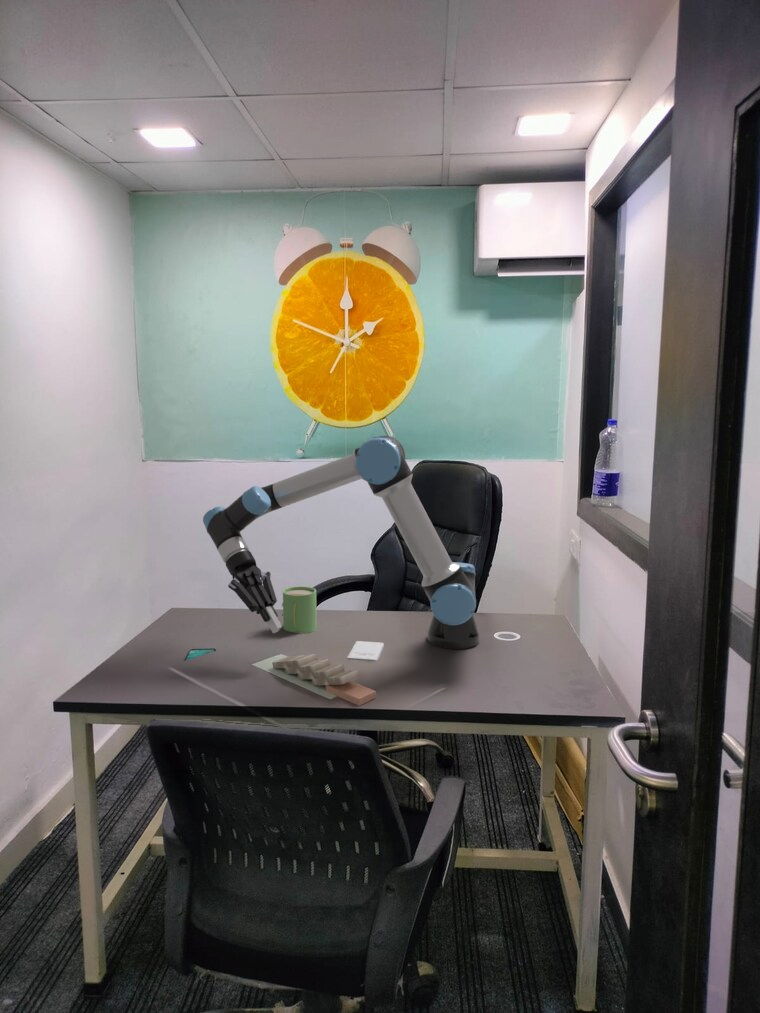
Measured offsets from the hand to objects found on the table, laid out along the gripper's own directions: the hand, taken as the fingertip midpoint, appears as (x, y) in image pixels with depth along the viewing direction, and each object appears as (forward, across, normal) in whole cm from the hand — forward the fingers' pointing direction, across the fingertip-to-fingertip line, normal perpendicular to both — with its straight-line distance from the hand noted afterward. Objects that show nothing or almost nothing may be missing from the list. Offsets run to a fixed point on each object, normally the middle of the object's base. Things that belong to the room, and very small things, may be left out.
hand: (277, 630), depth 167 cm
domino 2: (+11, 0, -2) cm, 11 cm away
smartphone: (-6, +12, -21) cm, 25 cm away
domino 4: (+18, 0, +6) cm, 18 cm away
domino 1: (+7, 0, -5) cm, 9 cm away
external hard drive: (+15, -22, 0) cm, 27 cm away
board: (+14, 0, 0) cm, 14 cm away
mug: (-5, -22, -20) cm, 30 cm away
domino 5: (+21, 0, +9) cm, 23 cm away
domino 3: (+14, 0, +2) cm, 14 cm away
